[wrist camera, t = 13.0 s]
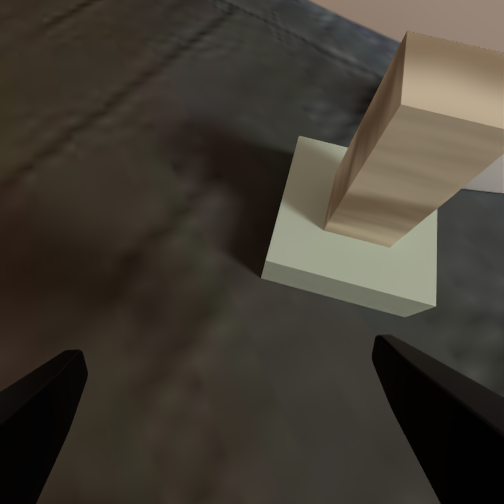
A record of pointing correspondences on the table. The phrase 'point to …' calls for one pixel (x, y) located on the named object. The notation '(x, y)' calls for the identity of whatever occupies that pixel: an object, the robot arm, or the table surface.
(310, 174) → the sage base block
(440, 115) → the maple block
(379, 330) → the table surface
